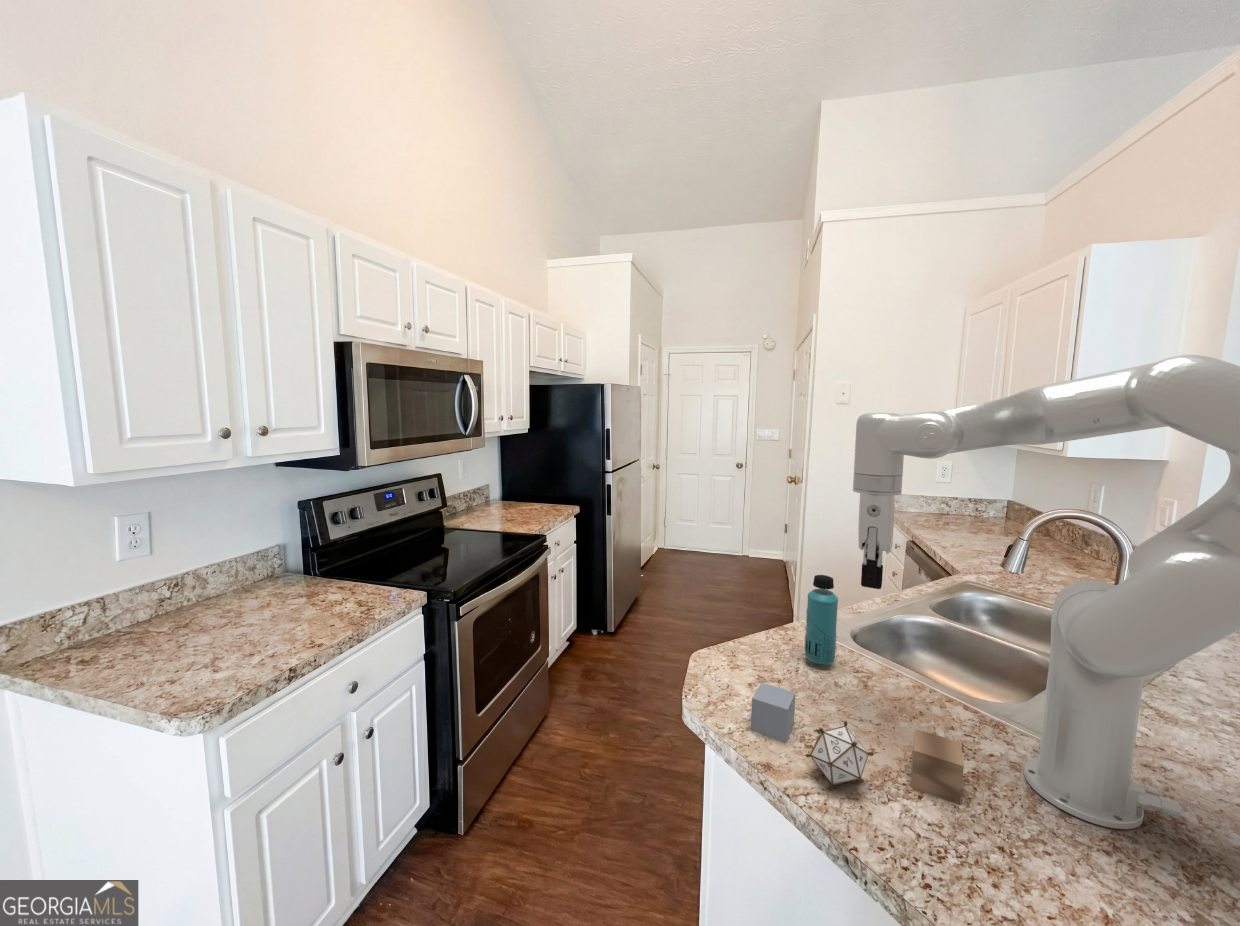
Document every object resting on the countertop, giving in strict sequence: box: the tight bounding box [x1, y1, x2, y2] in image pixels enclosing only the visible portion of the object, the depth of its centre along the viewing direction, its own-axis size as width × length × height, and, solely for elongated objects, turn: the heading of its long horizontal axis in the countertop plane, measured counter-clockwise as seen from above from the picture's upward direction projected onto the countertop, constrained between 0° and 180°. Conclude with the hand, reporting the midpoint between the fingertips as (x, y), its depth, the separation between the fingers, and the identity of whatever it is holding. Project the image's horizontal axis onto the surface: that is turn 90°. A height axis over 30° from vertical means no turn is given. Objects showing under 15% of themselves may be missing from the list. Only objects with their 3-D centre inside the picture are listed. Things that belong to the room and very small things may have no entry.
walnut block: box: [910, 728, 965, 806], centre depth 72 cm, size 6×6×6 cm
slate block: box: [750, 682, 796, 744], centre depth 85 cm, size 6×6×6 cm
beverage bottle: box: [803, 574, 839, 665], centre depth 106 cm, size 6×7×20 cm
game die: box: [804, 720, 875, 791], centre depth 73 cm, size 9×8×10 cm
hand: (871, 586), depth 86 cm, fingers closed
